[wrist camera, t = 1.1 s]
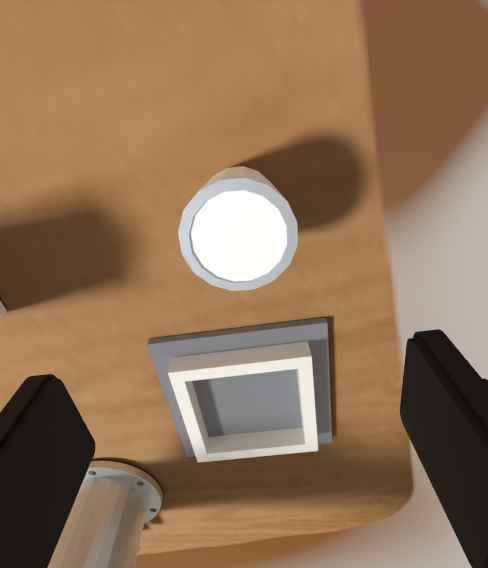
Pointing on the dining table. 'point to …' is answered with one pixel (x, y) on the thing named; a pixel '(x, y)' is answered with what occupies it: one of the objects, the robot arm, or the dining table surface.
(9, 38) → the dining table surface
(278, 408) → the holder tray
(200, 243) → the white cup
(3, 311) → the milk carton
